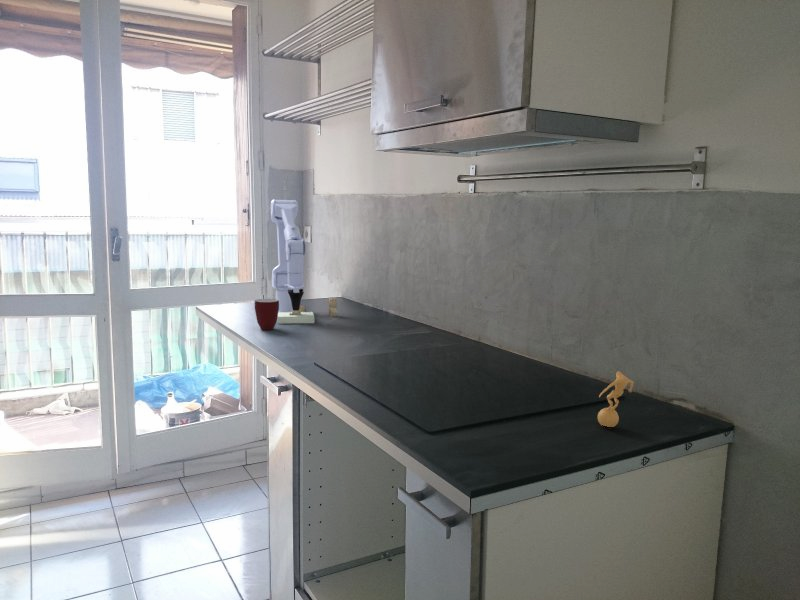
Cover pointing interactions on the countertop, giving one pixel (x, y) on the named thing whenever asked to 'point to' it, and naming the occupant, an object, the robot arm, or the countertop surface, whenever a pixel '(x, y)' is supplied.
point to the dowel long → (332, 307)
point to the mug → (266, 313)
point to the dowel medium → (297, 311)
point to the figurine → (609, 414)
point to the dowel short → (302, 308)
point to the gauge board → (295, 317)
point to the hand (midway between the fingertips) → (295, 309)
